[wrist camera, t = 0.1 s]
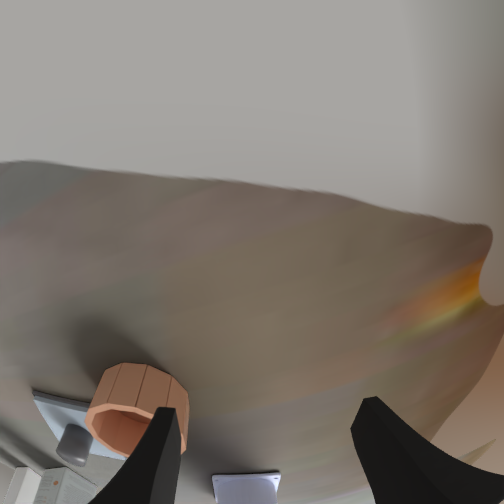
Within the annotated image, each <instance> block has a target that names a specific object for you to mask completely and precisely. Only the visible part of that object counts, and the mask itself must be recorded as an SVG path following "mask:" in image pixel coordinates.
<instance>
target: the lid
mask: <svg viewBox="0 0 504 504" xmlns="http://www.w3.org/2000/svg"><path fill="white" fill-rule="evenodd" d="M33 400H34V402H35V404H36V405H37V407H38V409H39V410H40V412H41V414H42V415H43V417H44V419H45V420H46V422H47V424H48V425H49V427H50V428H51V430H52V431H53V433H54V434H55V436H56V437H57V439H58V440H59V444H58V447H57V449H56V452H57V454H58V455H59V456H60V457H61V458H62V459H63V460H65V461H67V462H68V463H70V464H73V465H76V466H80V467H83V466H85V464H86V461H87V458H88V455H89V453H92V454H96V455H101V456H105V457H111V458H116V459H121V460H126V457H125V456H122V455H120V454H117V453H115V452H113V451H111V450H109V449H108V448H106V447H105V446H104V445H102V444H101V443H100V442H98V441H97V440H96V439H95V438H93V437H92V435H91V433H90V431H89V430H88V428H87V426H86V424H85V422H84V420H85V417H86V414H87V411H88V409H89V408H86V407H81V406H76V405H71V404H67V403H62V402H58V401H54V400H50V399H46V398H42V397H39V396H35V397H34V399H33Z"/></svg>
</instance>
